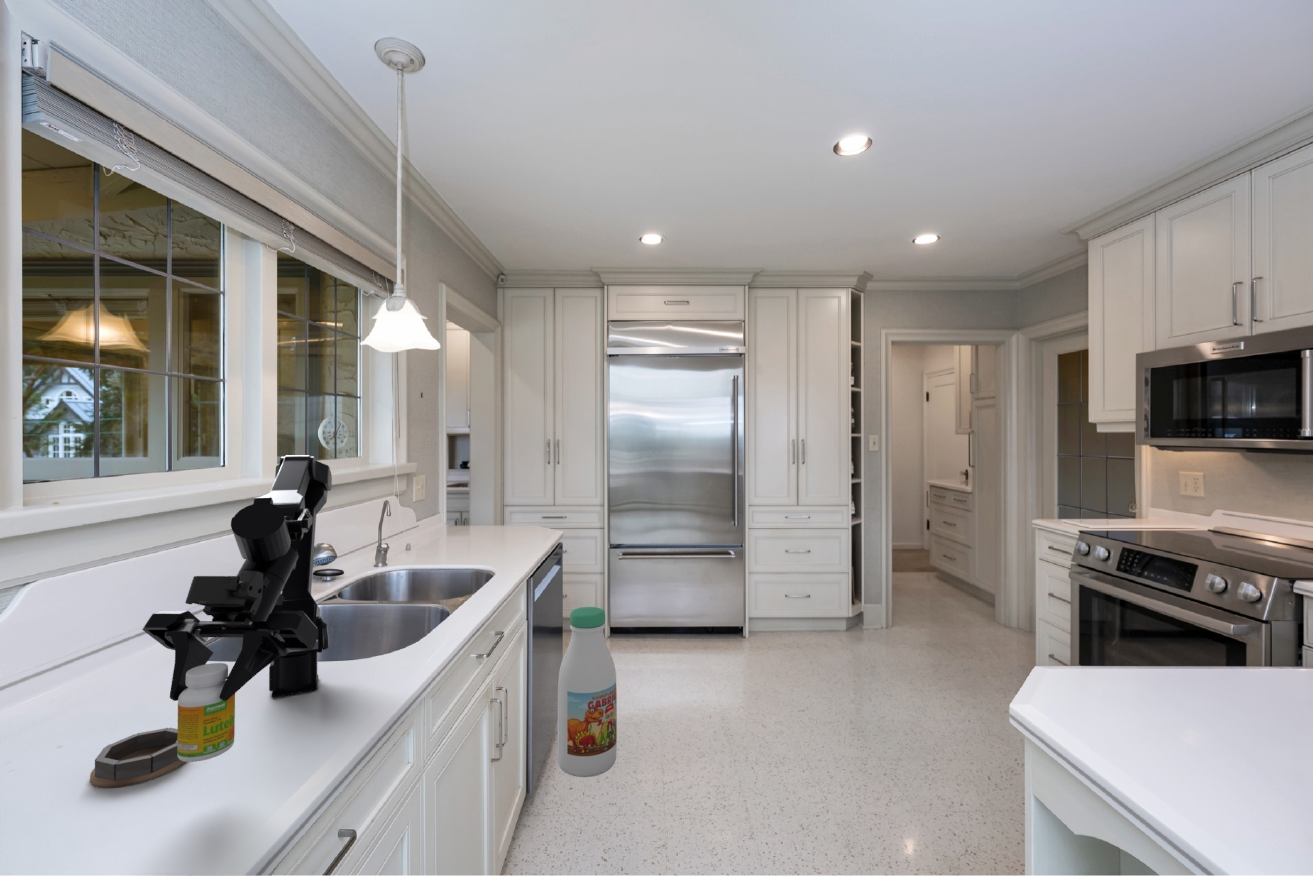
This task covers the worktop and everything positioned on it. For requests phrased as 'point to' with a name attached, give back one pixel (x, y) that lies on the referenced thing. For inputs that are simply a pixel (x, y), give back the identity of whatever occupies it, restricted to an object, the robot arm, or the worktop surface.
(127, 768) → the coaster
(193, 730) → the supplement bottle
